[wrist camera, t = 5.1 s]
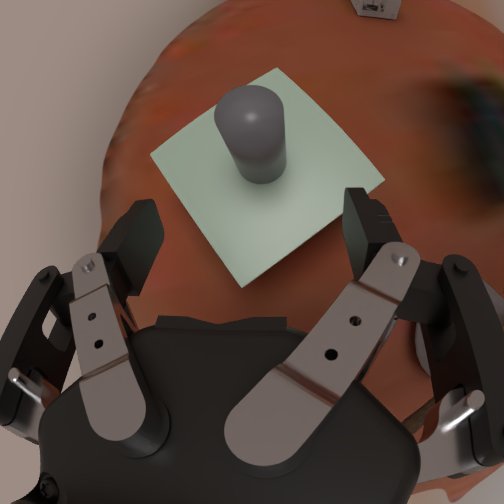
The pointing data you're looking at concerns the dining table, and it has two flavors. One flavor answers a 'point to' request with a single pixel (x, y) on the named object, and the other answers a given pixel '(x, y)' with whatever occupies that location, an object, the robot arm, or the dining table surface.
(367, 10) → the light bulb box
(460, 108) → the dining table surface
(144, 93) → the dining table surface
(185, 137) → the lid
